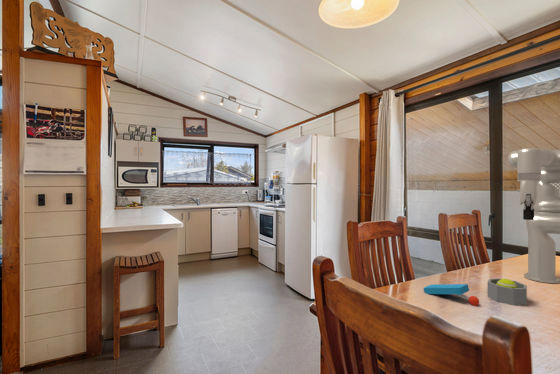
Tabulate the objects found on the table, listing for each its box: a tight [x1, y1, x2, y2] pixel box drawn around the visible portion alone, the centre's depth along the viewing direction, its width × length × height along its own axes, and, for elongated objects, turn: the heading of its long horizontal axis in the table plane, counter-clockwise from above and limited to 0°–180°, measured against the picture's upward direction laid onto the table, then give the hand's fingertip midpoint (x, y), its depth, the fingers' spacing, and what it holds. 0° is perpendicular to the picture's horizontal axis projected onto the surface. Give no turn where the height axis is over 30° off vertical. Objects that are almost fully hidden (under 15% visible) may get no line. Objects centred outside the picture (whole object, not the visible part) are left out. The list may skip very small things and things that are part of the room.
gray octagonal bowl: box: [487, 278, 528, 306], centre depth 111 cm, size 12×12×6 cm
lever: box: [423, 283, 480, 307], centre depth 112 cm, size 7×7×18 cm
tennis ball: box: [496, 278, 518, 288], centre depth 111 cm, size 7×7×7 cm
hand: (528, 218), depth 119 cm, fingers open, 9 cm apart
